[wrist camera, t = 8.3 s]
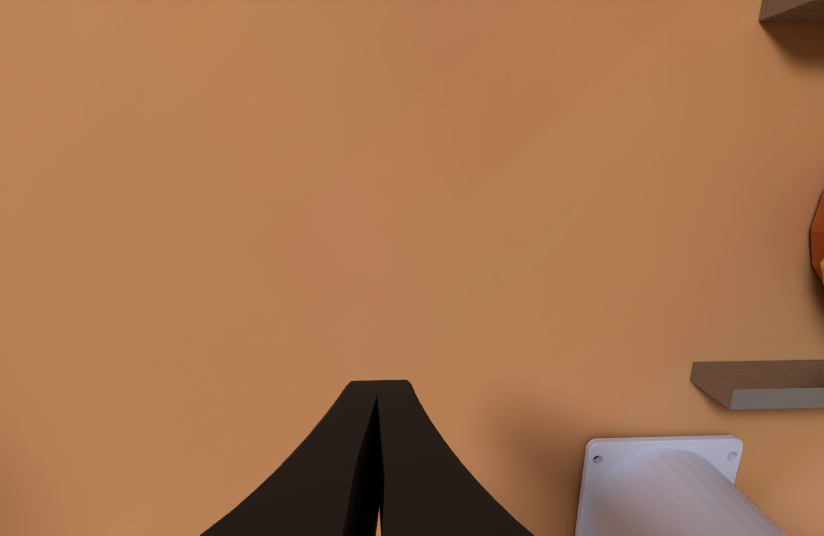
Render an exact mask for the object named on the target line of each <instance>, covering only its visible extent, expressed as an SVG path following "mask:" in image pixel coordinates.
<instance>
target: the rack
mask: <svg viewBox="0 0 824 536" xmlns="http://www.w3.org/2000/svg"><path fill="white" fill-rule="evenodd" d="M759 21H791V22H824V0H763V2H762V7H761V13H760V18H759ZM690 381H691V382H693V383H694V384H695V385H697V386H698V387H699V388H701V389H702V390H703V391H705V392H706V393H707V394H709V395H710V396H711V397H713V398H714V399H715V400H717V401H718V402H720V403H721V404H722V405H724V406H725V407H726V408H728V409H729V410H749V409H792V408H824V360H794V361H739V362H694V363H693V368H692V373H691V378H690Z"/></svg>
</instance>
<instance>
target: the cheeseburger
mask: <svg viewBox="0 0 824 536" xmlns="http://www.w3.org/2000/svg"><path fill="white" fill-rule="evenodd" d="M811 249H812V266H813V268H814V269H815V271H816V273H817V274H818V276H819V278H820V279H821V281H822V283H823V284H824V191H823V194H822V197H821V200H820V203H819V206H818V209H817V212H816V215H815V218H814V221H813V224H812V227H811Z"/></svg>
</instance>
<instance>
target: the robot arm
mask: <svg viewBox="0 0 824 536" xmlns="http://www.w3.org/2000/svg"><path fill="white" fill-rule="evenodd" d="M742 449H743V443H742V441H741V440H740V439H738V438H737V437H736V436H734V435H707V436H669V437H630V438H596V439H592V440H591V441H589V442H588V444H587V446H586V451H585V459H584V467H583V475H582V483H581V491H580V499H579V506H578V514H577V522H576V530H575V536H787V535H786V534H785V533H784V532H783V531H782V530H781V529H780V528H779V527H778V526H777V525H776V524H775V523H774V522H773V521H771V520H770V519H769V518H768V517H767V516H766V515H765V514H764V513H763V512H762V511H761V510H760V509H759V508H758V507H757V506H756V505H755V504H754V503H753V502H752V501H751V500H749V499H748V498H747V497H746V496H745V495H744V494H743V493H742V492H741V491H740V490H739V489H738V488H737V487H736V486H735V485H734V483H735V478H736V474H737V470H738V466H739V461H740V457H741V453H742ZM595 456H598V457H597V458H596V459H593V458H594V457H595ZM379 508H380V524H381V536H534V535H533V534H532V533H531V532H530V531H528V530H527V529H526V528H525V527H524V526H522V525H521V524H520V523H519V522H518V521H517V520H516V519H515V518H514V517H512V516H511V515H510V514H509V513H508V512H507V511H506V510H505V509H504V508H503V507H502V506H501V505H500V504H499V503H498V502H497V501H496V500H495V499H494V498H493V497H492V496H491V495H490V494H489V493H488V492H487V491H486V490H485V489H484V488H483V487H482V486H481V484H480V483H479V482H478V481H477V480H476V479H475V478H474V477H473V476H472V474H471V473H470V472H469V471H468V470H467V469H466V467H465V466H464V465H463V464H462V463H461V461H460V460H459V459H458V458H457V456H456V455H455V454H454V453H453V451H452V450H451V449H450V447H449V446H448V445H447V443H446V442H445V441H444V439H443V438H442V436H441V435H440V434H439V432H438V431H437V429H436V428H435V426H434V425H433V423H432V422H431V420H430V419H429V417H428V416H427V414H426V412H425V411H424V409H423V407H422V405H421V404H420V402H419V400H418V398H417V396H416V394H415V392H414V389H413V387H412V384H411V383H410V382H409V381H408V380H374V381H351V382H350V383H349V384H348V385H347V386H346V387H345V389H344V390H343V391H342V393H341V394H340V396H339V397H338V399H337V400H336V401H335V403H334V404H333V405H332V407H331V408H330V409H329V411H328V412H327V413H326V414H325V416H324V417H323V418H322V419H321V421H320V422H319V423H318V424H317V425H316V427H315V428H314V429H313V430H312V431H311V433H310V434H309V435H308V436H307V437H306V439H305V440H304V441H303V442H302V443H301V444H300V445H299V446H298V447H297V448H296V449H295V451H294V452H293V453H292V454H291V455H290V456H289V457H288V458H287V459H286V460H285V461H284V462H283V463H282V464H281V466H280V467H279V468H278V469H277V470H276V471H275V472H274V473H273V474H272V475H271V476H269V477H268V478H267V479H266V480H265V481H264V482H263V483H262V484H261V485H260V486H259V487H258V488H257V489H256V490H255V491H254V492H252V493H251V494H250V495H249V496H248V497H247V498H246V499H245V500H244V501H242V502H241V503H240V504H239V505H238V506H237V507H236V508H234V509H233V510H232V511H231V512H230V513H228V514H227V515H226V516H224V517H223V518H222V519H221V520H219V521H218V522H217V523H215V524H214V525H213V526H211V527H210V528H209V529H208V530H206V531H205V532H204V533H202V534H201V535H200V536H376V529H377V521H378V513H379Z"/></svg>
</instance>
